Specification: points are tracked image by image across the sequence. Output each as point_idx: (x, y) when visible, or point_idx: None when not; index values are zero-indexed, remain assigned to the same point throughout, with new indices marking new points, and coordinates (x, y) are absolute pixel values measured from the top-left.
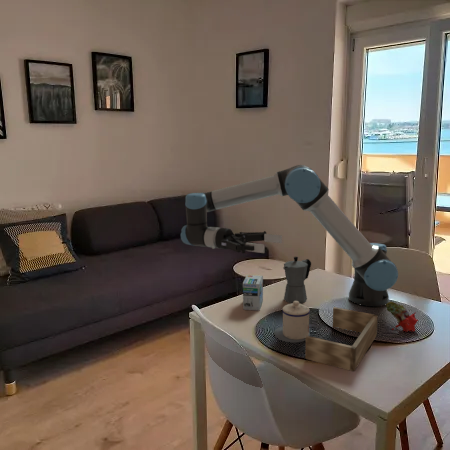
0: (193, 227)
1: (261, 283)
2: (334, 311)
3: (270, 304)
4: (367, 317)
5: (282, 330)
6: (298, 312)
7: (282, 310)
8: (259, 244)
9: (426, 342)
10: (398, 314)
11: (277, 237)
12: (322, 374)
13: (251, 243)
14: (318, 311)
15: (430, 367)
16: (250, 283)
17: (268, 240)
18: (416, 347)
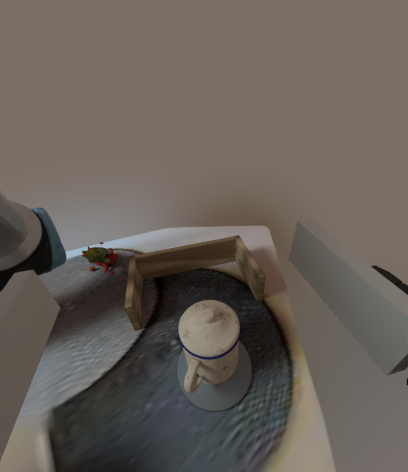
0: None
1: None
2: (133, 308)
3: None
4: (135, 267)
5: (217, 391)
6: (224, 306)
7: (232, 347)
8: (326, 233)
9: (132, 245)
10: (105, 252)
11: (29, 304)
12: (271, 271)
13: (379, 278)
14: (69, 399)
15: (181, 230)
16: None
17: (4, 421)
18: (148, 246)
